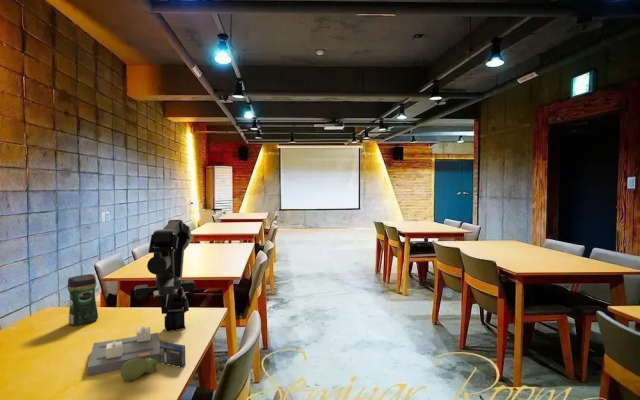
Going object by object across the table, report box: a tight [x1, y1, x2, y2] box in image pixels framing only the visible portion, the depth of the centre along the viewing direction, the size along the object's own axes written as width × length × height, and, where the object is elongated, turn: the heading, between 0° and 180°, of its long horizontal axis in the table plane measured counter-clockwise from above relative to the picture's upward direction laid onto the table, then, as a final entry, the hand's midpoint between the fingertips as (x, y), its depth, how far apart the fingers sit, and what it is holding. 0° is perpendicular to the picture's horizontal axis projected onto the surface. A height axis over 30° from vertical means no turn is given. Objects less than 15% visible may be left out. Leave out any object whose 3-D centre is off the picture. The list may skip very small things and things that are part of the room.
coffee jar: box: [66, 273, 99, 326], centre depth 146 cm, size 10×8×19 cm
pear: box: [119, 358, 159, 382], centre depth 104 cm, size 6×5×10 cm
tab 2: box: [136, 326, 151, 342], centre depth 122 cm, size 4×4×4 cm
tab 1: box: [106, 341, 122, 359], centre depth 111 cm, size 4×4×4 cm
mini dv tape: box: [159, 341, 187, 368], centre depth 110 cm, size 8×2×6 cm, turn 69°
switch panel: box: [86, 332, 160, 377], centre depth 116 cm, size 19×18×3 cm
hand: (166, 313), depth 125 cm, fingers closed
